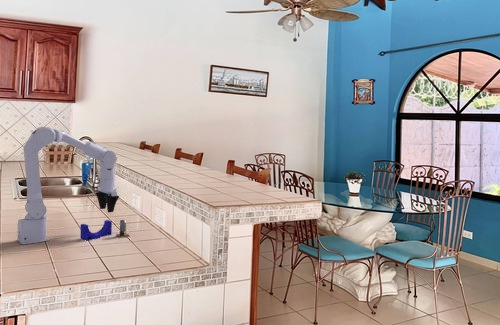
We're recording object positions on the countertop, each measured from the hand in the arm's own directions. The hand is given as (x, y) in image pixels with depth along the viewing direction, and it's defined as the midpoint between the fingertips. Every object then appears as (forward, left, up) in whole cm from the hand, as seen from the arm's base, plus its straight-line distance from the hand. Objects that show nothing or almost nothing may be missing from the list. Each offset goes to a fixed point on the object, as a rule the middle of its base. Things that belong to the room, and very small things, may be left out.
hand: (106, 210), depth 169 cm
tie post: (+4, -8, -10) cm, 13 cm away
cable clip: (-5, -4, -10) cm, 12 cm away
